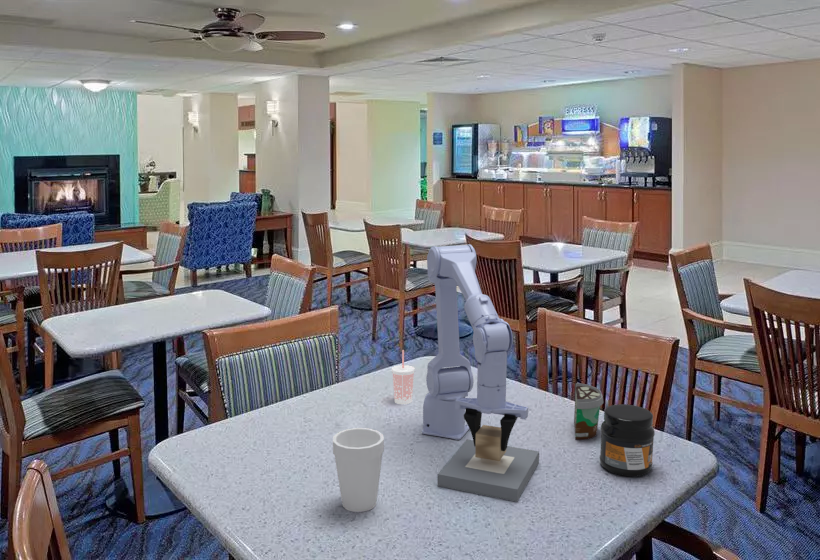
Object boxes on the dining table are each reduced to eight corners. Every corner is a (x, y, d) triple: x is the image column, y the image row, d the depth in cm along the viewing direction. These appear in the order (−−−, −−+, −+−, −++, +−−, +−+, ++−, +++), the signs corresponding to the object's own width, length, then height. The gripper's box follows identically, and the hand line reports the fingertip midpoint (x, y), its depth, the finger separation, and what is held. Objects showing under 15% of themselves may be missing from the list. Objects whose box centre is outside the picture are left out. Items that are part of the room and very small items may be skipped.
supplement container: (638, 483, 136) (642, 426, 134) (589, 467, 143) (592, 413, 141) (660, 466, 144) (664, 411, 142) (613, 451, 151) (616, 399, 149)
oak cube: (475, 457, 139) (475, 433, 138) (482, 447, 143) (483, 424, 142) (499, 461, 137) (499, 437, 136) (506, 451, 141) (506, 428, 140)
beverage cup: (415, 397, 184) (415, 347, 182) (413, 405, 178) (413, 353, 176) (393, 397, 185) (392, 346, 182) (390, 405, 179) (389, 353, 176)
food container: (603, 444, 154) (605, 402, 153) (575, 442, 156) (577, 400, 154) (600, 423, 166) (602, 383, 164) (573, 421, 167) (575, 382, 166)
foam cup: (335, 492, 133) (333, 428, 131) (383, 490, 134) (382, 426, 132) (333, 517, 124) (332, 450, 122) (385, 515, 125) (384, 448, 122)
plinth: (437, 485, 136) (437, 473, 135) (466, 449, 152) (467, 438, 151) (517, 501, 129) (517, 488, 129) (538, 462, 146) (539, 450, 145)
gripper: (450, 384, 136) (450, 448, 139) (522, 393, 131) (520, 460, 133) (462, 373, 143) (461, 435, 145) (531, 382, 137) (529, 446, 139)
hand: (490, 446), depth 139 cm, fingers closed on oak cube, 5 cm apart
